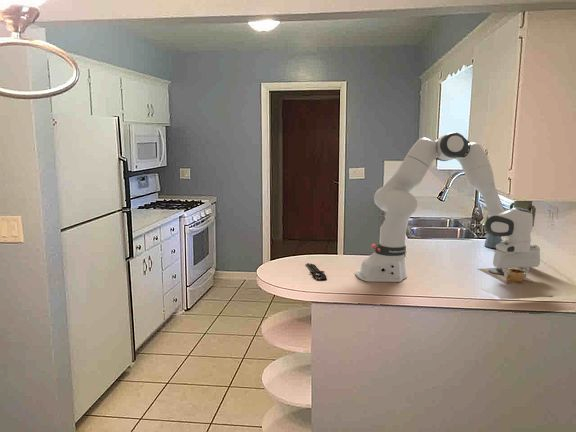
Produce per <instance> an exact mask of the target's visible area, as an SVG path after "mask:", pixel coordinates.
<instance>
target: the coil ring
mask: <svg viewBox="0 0 576 432" xmlns="http://www.w3.org/2000/svg"><path fill="white" fill-rule="evenodd" d="M507 272H508V274H510V278H506V279H507V280H509V281H513V282H523V281H524V275H525V271H524V269H521V268H508V271H507Z"/></svg>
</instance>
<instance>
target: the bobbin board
mask: <svg viewBox="0 0 576 432" xmlns="http://www.w3.org/2000/svg"><path fill="white" fill-rule="evenodd" d="M477 270H478V271H481V272H483V273H484V274H486V275H489V276H491V277H492V278H494V279H497V280H498V281H500V282H502V283H504V284H506V285H518V284H537V283H538V282H537V281H535V280H532V279H531V278H528V277H527V276H526V277H524V281H523V282H513V281H509V280H507V279H506V278H505V277H504V272H503V270H502V268H501V269H499V268H496V267H492V268H491V267H490V268H489V267H487V268H477Z"/></svg>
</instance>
